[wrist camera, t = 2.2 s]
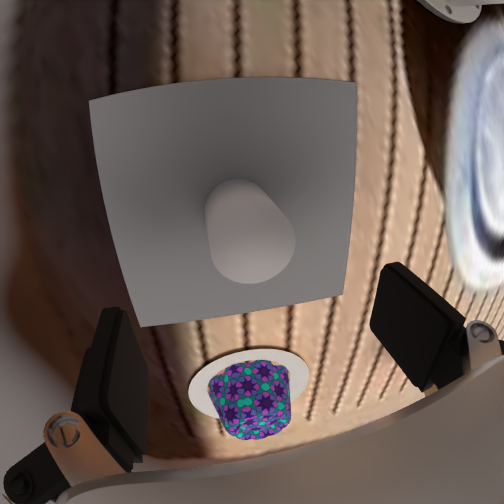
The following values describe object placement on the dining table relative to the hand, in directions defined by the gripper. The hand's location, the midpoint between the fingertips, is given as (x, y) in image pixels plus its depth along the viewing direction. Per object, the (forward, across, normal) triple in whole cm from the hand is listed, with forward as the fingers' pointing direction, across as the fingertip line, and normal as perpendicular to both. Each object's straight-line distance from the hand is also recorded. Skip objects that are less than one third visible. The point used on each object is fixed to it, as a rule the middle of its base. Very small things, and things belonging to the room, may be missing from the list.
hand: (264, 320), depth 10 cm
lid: (+10, -1, -1) cm, 10 cm away
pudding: (+11, -1, +17) cm, 20 cm away
